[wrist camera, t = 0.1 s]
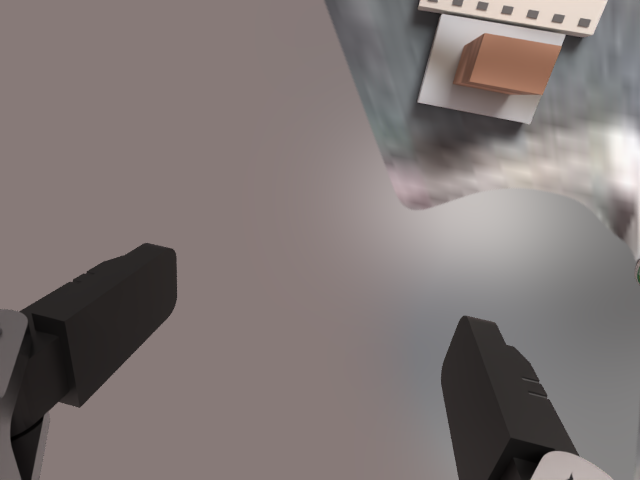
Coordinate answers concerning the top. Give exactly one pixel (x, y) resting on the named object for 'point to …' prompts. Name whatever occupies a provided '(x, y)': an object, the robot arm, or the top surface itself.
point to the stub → (489, 67)
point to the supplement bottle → (637, 272)
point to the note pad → (527, 13)
